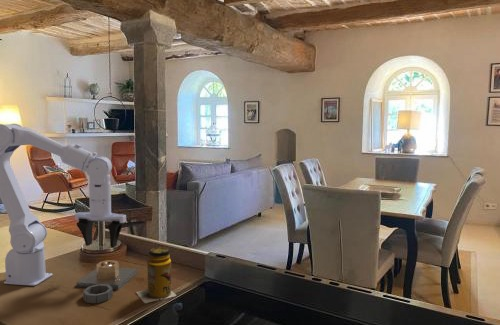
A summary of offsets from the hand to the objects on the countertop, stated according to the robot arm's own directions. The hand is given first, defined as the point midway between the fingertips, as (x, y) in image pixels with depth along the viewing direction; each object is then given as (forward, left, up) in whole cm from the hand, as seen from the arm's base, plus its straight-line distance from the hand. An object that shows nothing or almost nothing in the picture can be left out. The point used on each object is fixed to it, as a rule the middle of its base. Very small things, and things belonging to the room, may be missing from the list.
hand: (101, 245), depth 113 cm
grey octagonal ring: (+6, -12, -9) cm, 17 cm away
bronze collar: (+3, -1, -8) cm, 9 cm away
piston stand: (+3, -1, -9) cm, 10 cm away
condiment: (+20, -8, -10) cm, 23 cm away
